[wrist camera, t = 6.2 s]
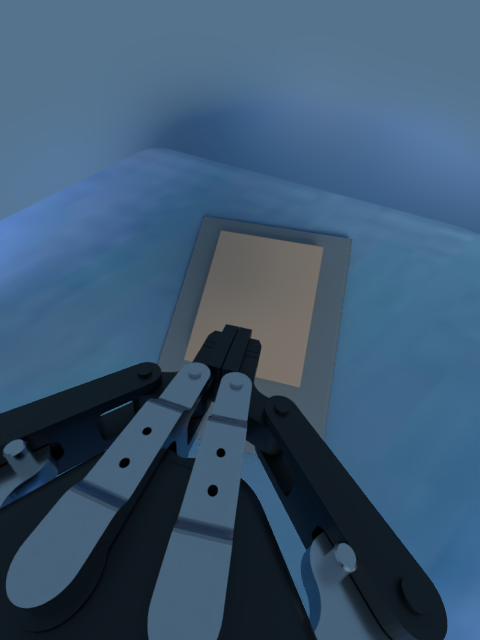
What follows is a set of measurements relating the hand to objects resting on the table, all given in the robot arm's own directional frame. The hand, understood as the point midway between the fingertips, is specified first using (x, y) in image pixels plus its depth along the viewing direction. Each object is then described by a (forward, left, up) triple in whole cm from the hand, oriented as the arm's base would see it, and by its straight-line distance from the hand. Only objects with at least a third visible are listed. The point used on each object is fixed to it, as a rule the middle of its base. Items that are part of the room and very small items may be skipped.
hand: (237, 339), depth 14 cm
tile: (-2, -1, -8) cm, 8 cm away
